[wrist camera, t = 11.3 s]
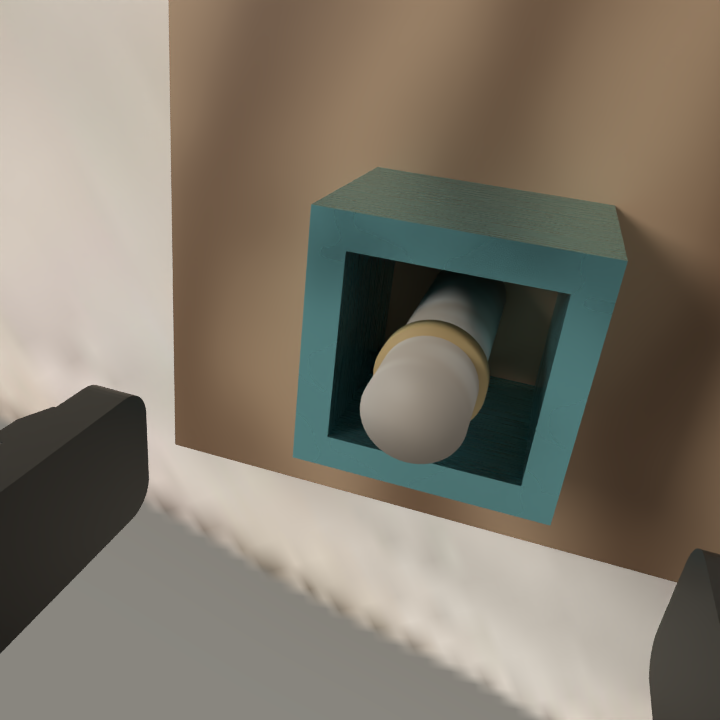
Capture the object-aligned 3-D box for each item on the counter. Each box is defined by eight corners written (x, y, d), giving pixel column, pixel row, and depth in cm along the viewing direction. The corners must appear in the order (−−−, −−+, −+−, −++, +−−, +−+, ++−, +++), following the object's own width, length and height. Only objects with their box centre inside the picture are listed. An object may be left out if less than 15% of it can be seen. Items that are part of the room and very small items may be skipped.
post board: (946, 29, 15) (1360, 4, 7) (714, 551, 21) (791, 839, 14) (206, -47, 19) (-66, -119, 11) (203, 417, 25) (33, 581, 17)
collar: (615, 205, 16) (628, 260, 12) (557, 416, 19) (550, 525, 15) (377, 166, 18) (311, 204, 13) (354, 369, 20) (292, 457, 16)
